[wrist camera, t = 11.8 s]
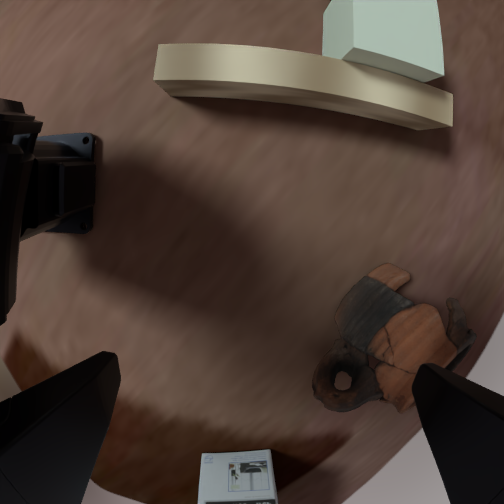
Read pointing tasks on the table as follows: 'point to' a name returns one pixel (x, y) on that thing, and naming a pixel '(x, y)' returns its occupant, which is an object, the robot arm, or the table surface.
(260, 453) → the light bulb box
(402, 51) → the cabinet block
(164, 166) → the table surface
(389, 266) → the brown hollow fragmented part
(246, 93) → the wall board
